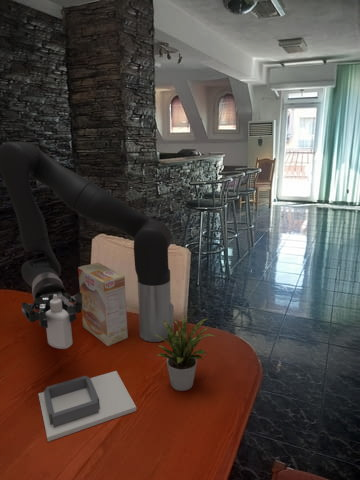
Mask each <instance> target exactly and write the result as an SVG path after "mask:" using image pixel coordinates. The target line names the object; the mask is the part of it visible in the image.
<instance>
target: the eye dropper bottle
mask: <svg viewBox="0 0 360 480" xmlns="http://www.w3.org/2000/svg"><path fill="white" fill-rule="evenodd" d="M50 308H51V309H50V310H48V311H47V312H46V313H45V314H46V317H47V323H48V328H45V329H46V338H47V344H48V345H49V346H51V347H52V348H55V349H60V350H61V349H63V350H65V349H68V348H69V347H71V346H72V345H73V334H72V333H73V332H72V331H73V330H72V323H71V322H70V315H69V314H68V312H66V311H65V310H64V309H62V300H61V299H58V297H57V294H54V295H53V299H52V300H51V301H50Z"/></svg>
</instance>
